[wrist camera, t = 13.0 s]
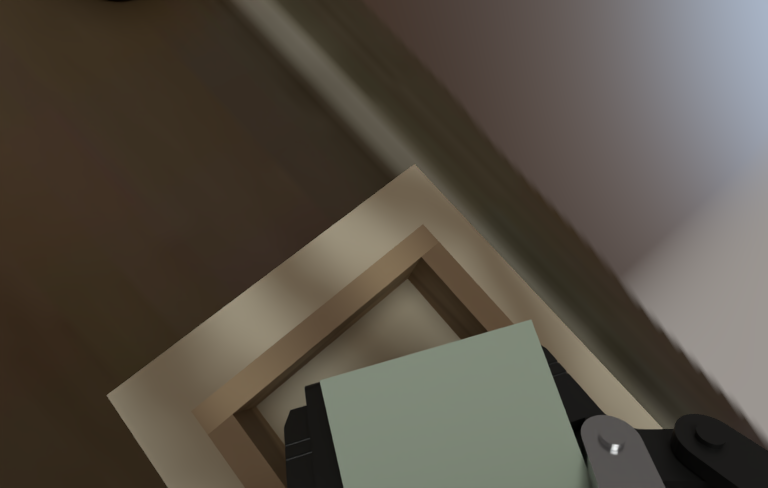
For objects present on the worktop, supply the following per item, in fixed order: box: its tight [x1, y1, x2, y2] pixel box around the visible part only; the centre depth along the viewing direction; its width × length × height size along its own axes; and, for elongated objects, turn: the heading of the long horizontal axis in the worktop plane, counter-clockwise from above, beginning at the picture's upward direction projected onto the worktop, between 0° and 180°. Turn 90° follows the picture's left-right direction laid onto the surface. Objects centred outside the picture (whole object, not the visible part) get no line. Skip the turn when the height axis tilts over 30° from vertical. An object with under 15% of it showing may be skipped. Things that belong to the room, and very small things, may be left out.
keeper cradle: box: [107, 164, 663, 488], centre depth 17 cm, size 18×18×5 cm
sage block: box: [320, 320, 592, 488], centre depth 12 cm, size 5×5×8 cm
